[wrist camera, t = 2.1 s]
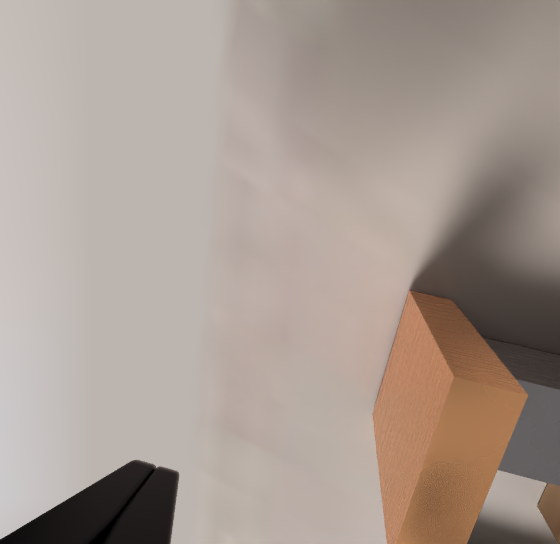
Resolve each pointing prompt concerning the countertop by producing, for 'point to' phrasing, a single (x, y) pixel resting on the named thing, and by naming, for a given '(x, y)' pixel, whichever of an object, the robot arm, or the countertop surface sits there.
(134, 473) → the robot arm
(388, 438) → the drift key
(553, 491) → the socket block
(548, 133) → the countertop surface
